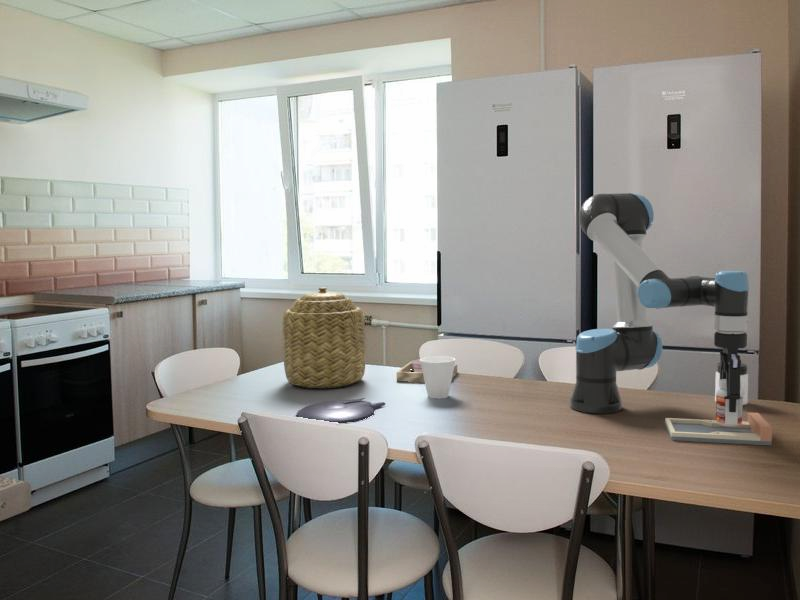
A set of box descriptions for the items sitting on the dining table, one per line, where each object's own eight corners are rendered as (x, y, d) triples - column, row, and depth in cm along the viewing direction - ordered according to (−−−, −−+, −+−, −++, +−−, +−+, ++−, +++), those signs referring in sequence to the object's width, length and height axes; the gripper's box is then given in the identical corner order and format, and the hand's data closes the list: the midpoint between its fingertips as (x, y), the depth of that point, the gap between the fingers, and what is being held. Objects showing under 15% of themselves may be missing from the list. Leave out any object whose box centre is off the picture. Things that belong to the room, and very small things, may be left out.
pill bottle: (712, 424, 177) (713, 381, 176) (719, 419, 181) (720, 377, 180) (738, 428, 173) (739, 384, 172) (745, 423, 177) (746, 380, 176)
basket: (297, 373, 269) (294, 284, 265) (373, 374, 264) (370, 283, 261) (273, 391, 239) (269, 291, 236) (357, 392, 235) (354, 290, 231)
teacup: (427, 382, 249) (426, 365, 248) (398, 379, 255) (398, 362, 254) (442, 376, 259) (442, 359, 259) (414, 373, 265) (414, 357, 265)
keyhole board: (671, 440, 174) (671, 422, 174) (665, 425, 188) (665, 408, 187) (771, 445, 168) (772, 427, 168) (757, 429, 182) (758, 412, 182)
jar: (735, 407, 204) (736, 368, 203) (710, 402, 211) (711, 364, 210) (752, 403, 209) (753, 364, 208) (726, 398, 216) (727, 360, 215)
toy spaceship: (350, 399, 227) (350, 389, 227) (401, 411, 210) (400, 400, 210) (279, 416, 208) (279, 405, 208) (329, 430, 191) (329, 419, 191)
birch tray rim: (396, 381, 250) (396, 372, 250) (409, 371, 269) (409, 362, 268) (447, 383, 246) (447, 373, 245) (457, 372, 264) (457, 363, 263)
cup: (415, 399, 223) (414, 361, 222) (427, 391, 234) (426, 355, 233) (449, 401, 219) (449, 363, 218) (460, 393, 230) (460, 356, 229)
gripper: (755, 337, 165) (753, 431, 167) (739, 326, 183) (736, 411, 185) (721, 336, 167) (719, 429, 169) (708, 326, 185) (706, 410, 187)
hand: (728, 420), depth 177 cm, fingers closed on pill bottle, 6 cm apart
